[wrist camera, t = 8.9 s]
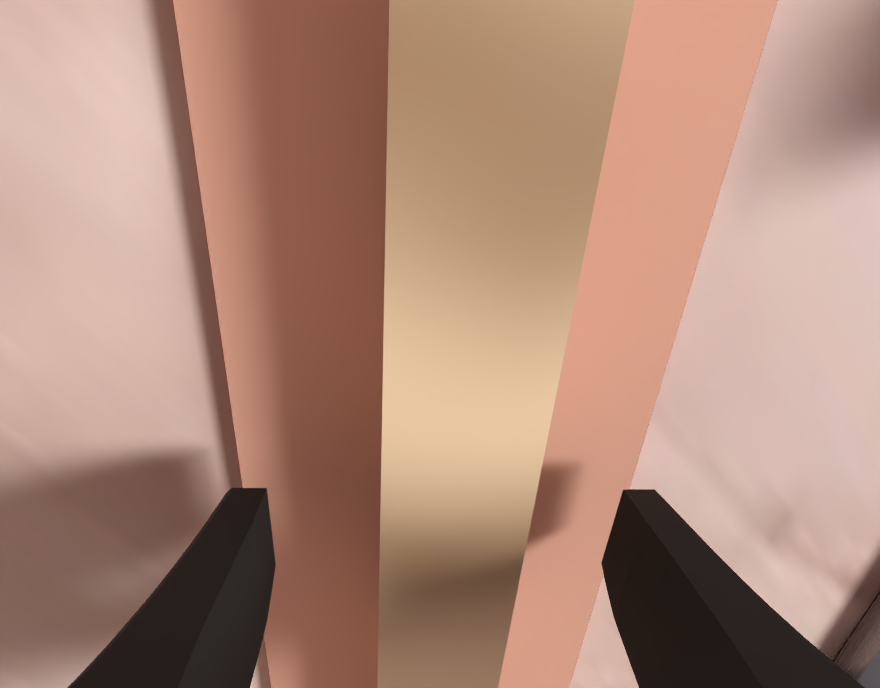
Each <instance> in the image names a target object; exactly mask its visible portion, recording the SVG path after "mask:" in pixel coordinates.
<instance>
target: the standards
mask: <svg viewBox="0 0 880 688" xmlns="http://www.w3.org/2000/svg"><path fill="white" fill-rule="evenodd" d="M834 663H835V664H836V665H838V666H839V667H840V668H841V669H842V670H844V671H845V672H846V673H847V674H849V675H850V676H851V677H852V678H854V679H855V680H856V681H857V682H858V683H860V684H861V685H862V686H863V687H865V688H880V594H879V595H878V597H877V598H876V600H875V601H874V603H873V604H872V605H871V607H870V608H869V610H868V611H867V613H866V614H865V616H864V617H863V619H862V620H861V622H860V623H859V625H858V626H857V628H856V629H855V631H854V632H853V634H852V635H851V637H850V638H849V640H848V641H847V643H846V644H845V645H844V647H843V648H842V650H841V651H840V653H839V654H838V656H837V657H836V659H835V660H834Z"/></svg>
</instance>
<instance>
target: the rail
mask: <svg viewBox="0 0 880 688" xmlns="http://www.w3.org/2000/svg"><path fill="white" fill-rule="evenodd" d="M634 1H635V0H389V49H388V106H387V163H386V221H385V278H384V335H383V393H382V450H381V507H380V565H379V622H378V679H377V688H498V686H499V681H500V676H501V671H502V666H503V661H504V655H505V650H506V645H507V640H508V635H509V630H510V625H511V620H512V615H513V610H514V605H515V600H516V595H517V590H518V585H519V580H520V575H521V570H522V565H523V560H524V555H525V550H526V545H527V540H528V535H529V530H530V525H531V520H532V515H533V509H534V504H535V499H536V494H537V489H538V484H539V479H540V474H541V469H542V464H543V459H544V454H545V449H546V444H547V439H548V434H549V429H550V424H551V419H552V414H553V409H554V404H555V399H556V394H557V389H558V384H559V379H560V374H561V369H562V363H563V358H564V353H565V348H566V343H567V338H568V333H569V328H570V323H571V318H572V313H573V308H574V303H575V298H576V293H577V288H578V283H579V278H580V273H581V268H582V263H583V258H584V253H585V248H586V243H587V238H588V233H589V228H590V223H591V218H592V212H593V207H594V202H595V197H596V192H597V187H598V182H599V177H600V172H601V167H602V162H603V157H604V152H605V147H606V142H607V137H608V132H609V127H610V122H611V117H612V112H613V107H614V102H615V97H616V92H617V87H618V82H619V77H620V72H621V66H622V61H623V56H624V51H625V46H626V41H627V36H628V31H629V26H630V21H631V16H632V11H633V6H634Z"/></svg>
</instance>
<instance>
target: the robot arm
mask: <svg viewBox="0 0 880 688" xmlns="http://www.w3.org/2000/svg"><path fill="white" fill-rule="evenodd" d="M601 564H602V569H603V573H604V578H605V582H606V587H607V591H608V595H609V599H610V603H611V607H612V611H613V616H614V619H615V622H616V625H617V627H618V630H619V633H620V636H621V639H622V641H623V644H624V647H625V650H626V653H627V655H628V658H629V661H630V664H631V666H632V669H633V672H634V675H635V677H636V680H637V683H638V686H639V688H865V687H863V686H862V685H861V684H860V683H858V682H857V681H856V680H855V679H854V678H852V677H851V676H850V675H849V674H847V673H846V672H845V671H844V670H842V669H841V668H840V667H839V666H838V665H836V664H835V663H834V662H833V661H831V660H830V659H829V658H828V657H826V656H825V655H824V654H823V653H822V652H821V651H819V650H818V649H817V648H816V647H815V646H814V645H812V644H811V643H810V642H809V641H808V640H807V639H805V638H804V637H803V636H802V635H801V634H800V633H799V632H798V631H797V630H795V629H794V628H793V627H792V626H791V625H790V624H789V623H788V622H787V621H786V620H784V619H783V618H782V617H781V616H780V615H779V614H778V613H777V612H776V611H775V610H773V609H772V608H771V607H770V606H769V605H768V604H767V603H766V602H765V601H764V600H763V599H762V598H761V597H760V596H759V595H757V594H756V593H755V592H754V591H753V590H752V589H751V588H750V587H749V586H748V585H747V584H746V583H745V582H744V581H743V580H742V579H741V578H740V577H739V576H738V575H737V574H736V573H735V572H734V571H733V570H732V569H731V568H730V567H729V566H728V565H727V564H726V563H725V562H724V561H723V560H722V559H721V558H720V557H719V556H718V555H717V554H716V553H715V552H714V551H713V550H712V549H711V548H710V547H709V546H708V545H707V544H706V543H705V542H704V541H703V540H702V538H701V537H700V536H699V535H698V534H697V533H696V532H695V531H694V530H693V529H692V528H691V527H690V526H689V525H688V524H687V523H686V522H685V521H684V520H683V519H682V518H681V517H680V515H679V514H678V513H677V512H676V511H675V510H674V509H673V508H672V507H671V506H670V505H669V504H668V503H667V502H666V501H665V500H664V499H663V498H662V497H661V496H660V495H659V494H658V493H657V492H656V491H655V490H623V491H622V495H621V498H620V502H619V505H618V508H617V512H616V515H615V518H614V522H613V525H612V529H611V532H610V535H609V539H608V542H607V545H606V549H605V552H604V555H603V559H602V562H601ZM275 566H276V563H275V555H274V546H273V537H272V529H271V520H270V511H269V502H268V494H267V488H232V489H230V490H229V491H228V492H227V493H226V494H225V496H224V497H223V499H222V500H221V502H220V503H219V505H218V506H217V508H216V509H215V511H214V512H213V513H212V515H211V516H210V518H209V519H208V521H207V522H206V524H205V525H204V526H203V528H202V529H201V531H200V532H199V533H198V535H197V536H196V537H195V539H194V540H193V541H192V543H191V544H190V546H189V547H188V548H187V550H186V551H185V552H184V554H183V555H182V556H181V557H180V559H179V560H178V561H177V563H176V564H175V565H174V566H173V568H172V569H171V570H170V572H169V573H168V574H167V575H166V577H165V578H164V579H163V580H162V582H161V583H160V584H159V586H158V587H157V588H156V589H155V591H154V592H153V593H152V594H151V596H150V597H149V598H148V599H147V600H146V602H145V603H144V604H143V605H142V606H141V607H140V608H139V610H138V611H137V612H136V613H135V614H134V615H133V617H132V618H131V619H130V620H129V621H128V622H127V624H126V625H125V626H124V627H123V628H122V629H121V631H120V632H119V633H118V634H117V635H116V636H115V638H114V639H113V640H112V641H111V642H110V643H109V644H108V645H107V647H106V648H105V649H104V650H103V651H102V652H101V653H100V654H99V655H98V656H97V657H96V658H95V660H94V661H93V662H92V663H91V664H90V665H89V666H88V667H87V668H86V669H85V670H84V671H83V672H82V673H81V674H80V675H79V676H78V677H77V679H76V680H75V681H74V682H73V683H72V684H71V685H70V686H69V687H68V688H250V685H251V681H252V677H253V673H254V670H255V666H256V662H257V658H258V654H259V651H260V647H261V643H262V639H263V635H264V631H265V627H266V624H267V619H268V612H269V606H270V600H271V594H272V587H273V580H274V573H275Z"/></svg>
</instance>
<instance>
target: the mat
mask: <svg viewBox="0 0 880 688" xmlns="http://www.w3.org/2000/svg"><path fill="white" fill-rule="evenodd" d="M777 1H778V0H635V1H634V6H633V11H632V16H631V21H630V26H629V31H628V36H627V41H626V46H625V51H624V56H623V61H622V66H621V72H620V77H619V82H618V87H617V92H616V97H615V102H614V107H613V112H612V117H611V122H610V127H609V132H608V137H607V142H606V147H605V152H604V157H603V162H602V167H601V172H600V177H599V182H598V187H597V192H596V197H595V202H594V207H593V212H592V218H591V223H590V228H589V233H588V238H587V243H586V248H585V253H584V258H583V263H582V268H581V273H580V278H579V283H578V288H577V293H576V298H575V303H574V308H573V313H572V318H571V323H570V328H569V333H568V338H567V343H566V348H565V353H564V358H563V363H562V369H561V374H560V379H559V384H558V389H557V394H556V399H555V404H554V409H553V414H552V419H551V424H550V429H549V434H548V439H547V444H546V449H545V454H544V459H543V464H542V469H541V474H540V479H539V484H538V489H537V494H536V499H535V504H534V509H533V515H532V520H531V525H530V530H529V535H528V540H527V545H526V550H525V555H524V560H523V565H522V570H521V575H520V580H519V585H518V590H517V595H516V600H515V605H514V610H513V615H512V620H511V625H510V630H509V635H508V640H507V645H506V650H505V655H504V661H503V666H502V671H501V676H500V681H499V686H498V688H569V685H570V682H571V679H572V676H573V672H574V669H575V666H576V662H577V659H578V656H579V653H580V649H581V646H582V643H583V639H584V636H585V633H586V630H587V626H588V623H589V620H590V616H591V613H592V610H593V606H594V603H595V600H596V597H597V593H598V590H599V587H600V583H601V580H602V577H603V574H604V573H603V569H602V564H601V562H602V559H603V555H604V552H605V549H606V545H607V542H608V539H609V535H610V532H611V529H612V525H613V522H614V518H615V515H616V512H617V508H618V505H619V502H620V498H621V495H622V491H623V490H629V488H630V485H631V481H632V478H633V475H634V472H635V468H636V465H637V462H638V458H639V455H640V452H641V449H642V445H643V442H644V439H645V435H646V432H647V429H648V425H649V422H650V419H651V416H652V412H653V409H654V406H655V402H656V399H657V396H658V393H659V389H660V386H661V383H662V379H663V376H664V373H665V370H666V366H667V363H668V360H669V356H670V353H671V350H672V347H673V343H674V340H675V337H676V333H677V330H678V327H679V323H680V320H681V317H682V314H683V310H684V307H685V304H686V300H687V297H688V294H689V291H690V287H691V284H692V281H693V277H694V274H695V271H696V268H697V264H698V261H699V258H700V254H701V251H702V248H703V244H704V241H705V238H706V235H707V231H708V228H709V225H710V221H711V218H712V215H713V212H714V208H715V205H716V202H717V198H718V195H719V192H720V189H721V185H722V182H723V179H724V175H725V172H726V169H727V165H728V162H729V159H730V156H731V152H732V149H733V146H734V142H735V139H736V136H737V133H738V129H739V126H740V123H741V119H742V116H743V113H744V110H745V106H746V103H747V100H748V96H749V93H750V90H751V87H752V83H753V80H754V77H755V73H756V70H757V67H758V63H759V60H760V57H761V54H762V50H763V47H764V44H765V40H766V37H767V34H768V31H769V27H770V24H771V21H772V17H773V14H774V11H775V8H776V4H777ZM173 4H174V11H175V18H176V25H177V32H178V39H179V46H180V53H181V60H182V67H183V74H184V81H185V88H186V95H187V102H188V109H189V116H190V123H191V130H192V137H193V144H194V151H195V158H196V165H197V172H198V179H199V186H200V193H201V200H202V207H203V214H204V221H205V228H206V235H207V242H208V249H209V256H210V263H211V270H212V277H213V284H214V291H215V298H216V305H217V312H218V319H219V326H220V333H221V340H222V347H223V354H224V361H225V368H226V375H227V382H228V389H229V396H230V403H231V410H232V417H233V424H234V431H235V438H236V445H237V452H238V459H239V466H240V473H241V480H242V487H243V488H267V494H268V502H269V511H270V520H271V529H272V537H273V546H274V555H275V563H276V566H275V573H274V580H273V587H272V594H271V600H270V606H269V612H268V619H267V624H266V627H265V631H264V641H265V648H266V655H267V662H268V669H269V676H270V683H271V688H377V679H378V622H379V565H380V507H381V450H382V393H383V335H384V278H385V221H386V163H387V106H388V49H389V0H173Z"/></svg>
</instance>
